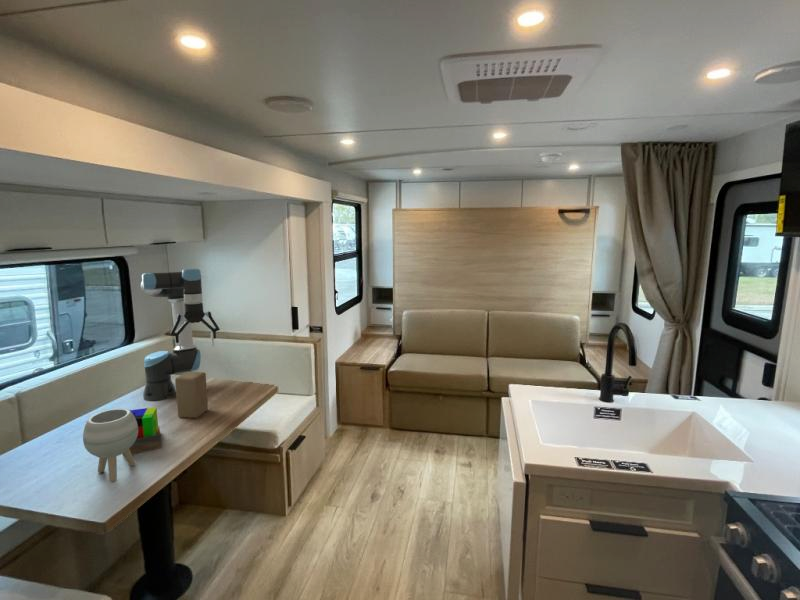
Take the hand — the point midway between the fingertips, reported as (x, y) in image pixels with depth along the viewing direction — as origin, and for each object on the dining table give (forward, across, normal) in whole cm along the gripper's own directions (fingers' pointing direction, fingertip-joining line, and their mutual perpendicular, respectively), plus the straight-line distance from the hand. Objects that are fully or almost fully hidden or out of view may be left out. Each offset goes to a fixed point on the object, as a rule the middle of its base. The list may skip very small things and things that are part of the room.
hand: (196, 347), depth 185 cm
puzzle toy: (+32, -24, -13) cm, 42 cm away
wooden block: (+35, -3, +6) cm, 36 cm away
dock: (+35, -24, -14) cm, 44 cm away
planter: (+35, -32, -33) cm, 58 cm away
